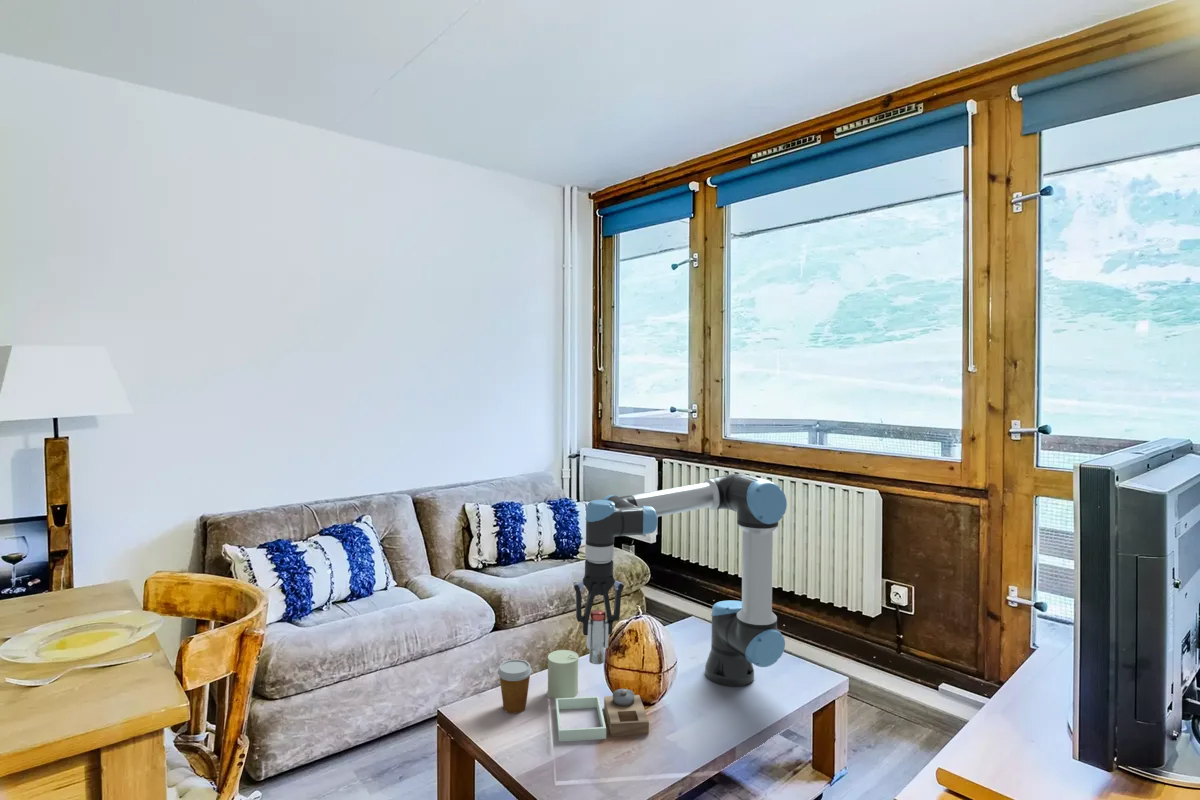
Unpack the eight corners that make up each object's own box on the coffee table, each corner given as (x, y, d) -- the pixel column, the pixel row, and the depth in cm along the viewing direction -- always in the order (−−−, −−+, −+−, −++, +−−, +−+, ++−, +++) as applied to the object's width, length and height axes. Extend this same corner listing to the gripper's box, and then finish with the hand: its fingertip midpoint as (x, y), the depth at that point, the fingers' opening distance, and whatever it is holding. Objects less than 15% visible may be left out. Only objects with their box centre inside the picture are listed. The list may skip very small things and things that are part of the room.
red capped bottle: (603, 657, 174) (604, 609, 173) (605, 664, 170) (606, 615, 170) (588, 657, 173) (589, 610, 173) (590, 664, 170) (591, 615, 169)
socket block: (648, 736, 169) (649, 710, 169) (610, 738, 168) (611, 712, 167) (639, 708, 183) (639, 684, 183) (604, 710, 182) (604, 686, 181)
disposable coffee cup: (529, 716, 178) (530, 674, 177) (495, 716, 178) (495, 674, 177) (533, 699, 187) (533, 658, 187) (500, 698, 187) (500, 658, 187)
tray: (555, 710, 181) (555, 698, 181) (598, 708, 183) (598, 696, 182) (558, 744, 165) (558, 730, 165) (606, 741, 167) (606, 728, 166)
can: (574, 704, 185) (574, 663, 184) (543, 700, 187) (543, 660, 186) (581, 688, 194) (582, 649, 193) (552, 685, 196) (552, 646, 195)
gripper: (628, 554, 175) (626, 639, 177) (565, 555, 173) (563, 641, 174) (633, 563, 168) (631, 651, 169) (568, 564, 166) (566, 653, 167)
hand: (597, 646), depth 172 cm, fingers closed on red capped bottle, 4 cm apart
